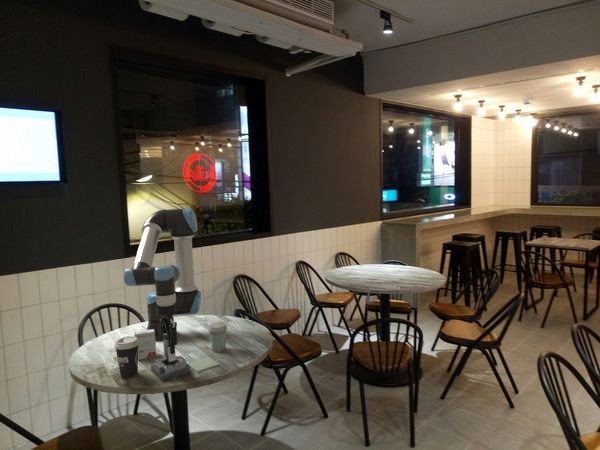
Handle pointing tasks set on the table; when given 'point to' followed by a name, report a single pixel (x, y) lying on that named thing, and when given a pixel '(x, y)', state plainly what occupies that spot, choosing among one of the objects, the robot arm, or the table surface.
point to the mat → (202, 364)
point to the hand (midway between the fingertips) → (170, 358)
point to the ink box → (146, 344)
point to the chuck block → (170, 368)
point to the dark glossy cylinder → (166, 350)
